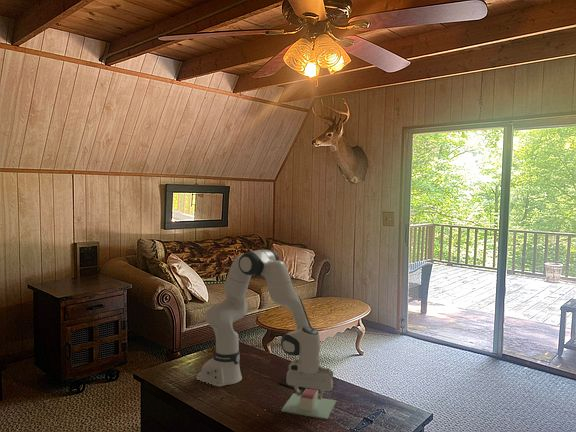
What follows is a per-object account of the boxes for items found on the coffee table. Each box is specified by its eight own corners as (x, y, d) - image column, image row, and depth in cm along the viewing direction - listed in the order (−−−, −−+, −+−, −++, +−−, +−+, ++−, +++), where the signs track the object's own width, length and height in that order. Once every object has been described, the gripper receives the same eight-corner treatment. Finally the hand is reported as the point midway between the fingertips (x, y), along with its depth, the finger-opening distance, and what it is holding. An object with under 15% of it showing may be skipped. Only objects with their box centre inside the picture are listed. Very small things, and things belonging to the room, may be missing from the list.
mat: (281, 411, 182) (281, 409, 182) (293, 394, 197) (293, 393, 197) (327, 419, 175) (327, 418, 175) (336, 401, 190) (336, 400, 190)
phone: (288, 376, 214) (313, 384, 205) (288, 378, 215) (313, 387, 205) (278, 382, 208) (303, 390, 199) (278, 384, 208) (303, 393, 199)
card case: (306, 399, 191) (306, 388, 191) (318, 401, 189) (318, 390, 189) (299, 409, 182) (299, 397, 182) (312, 411, 181) (312, 399, 180)
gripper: (334, 366, 185) (334, 397, 185) (289, 360, 191) (289, 390, 192) (331, 372, 179) (331, 404, 179) (285, 365, 185) (284, 396, 186)
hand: (309, 397), depth 186 cm, fingers open, 8 cm apart
